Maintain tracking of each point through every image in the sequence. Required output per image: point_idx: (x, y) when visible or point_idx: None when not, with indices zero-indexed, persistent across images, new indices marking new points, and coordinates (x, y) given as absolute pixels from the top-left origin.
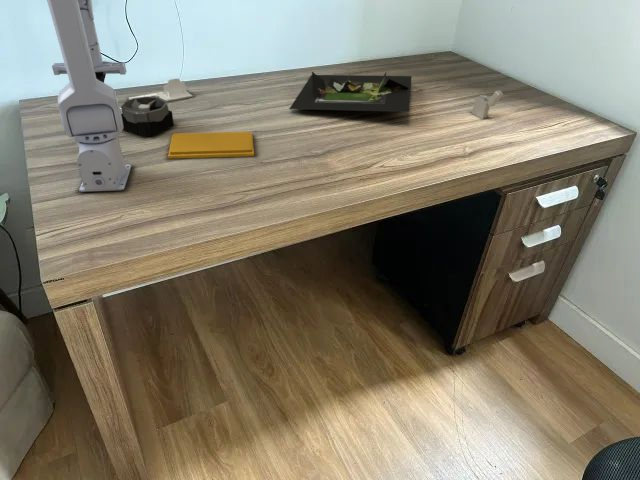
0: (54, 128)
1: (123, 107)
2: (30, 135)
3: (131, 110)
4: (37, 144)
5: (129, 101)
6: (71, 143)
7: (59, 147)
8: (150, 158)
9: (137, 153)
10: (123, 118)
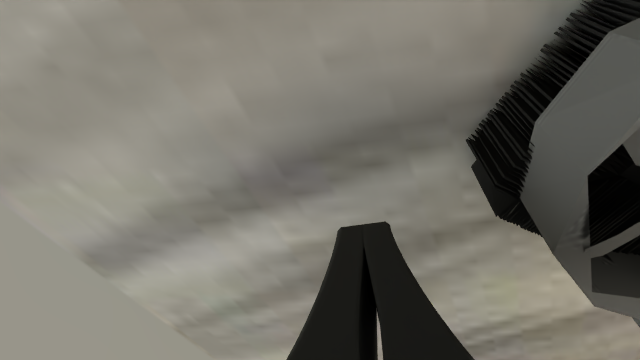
0: (106, 180)
1: (573, 264)
2: (70, 248)
3: (619, 241)
4: (162, 300)
5: (631, 127)
6: (280, 286)
7: (254, 311)
8: (603, 344)
9: (556, 324)
10: (524, 227)
